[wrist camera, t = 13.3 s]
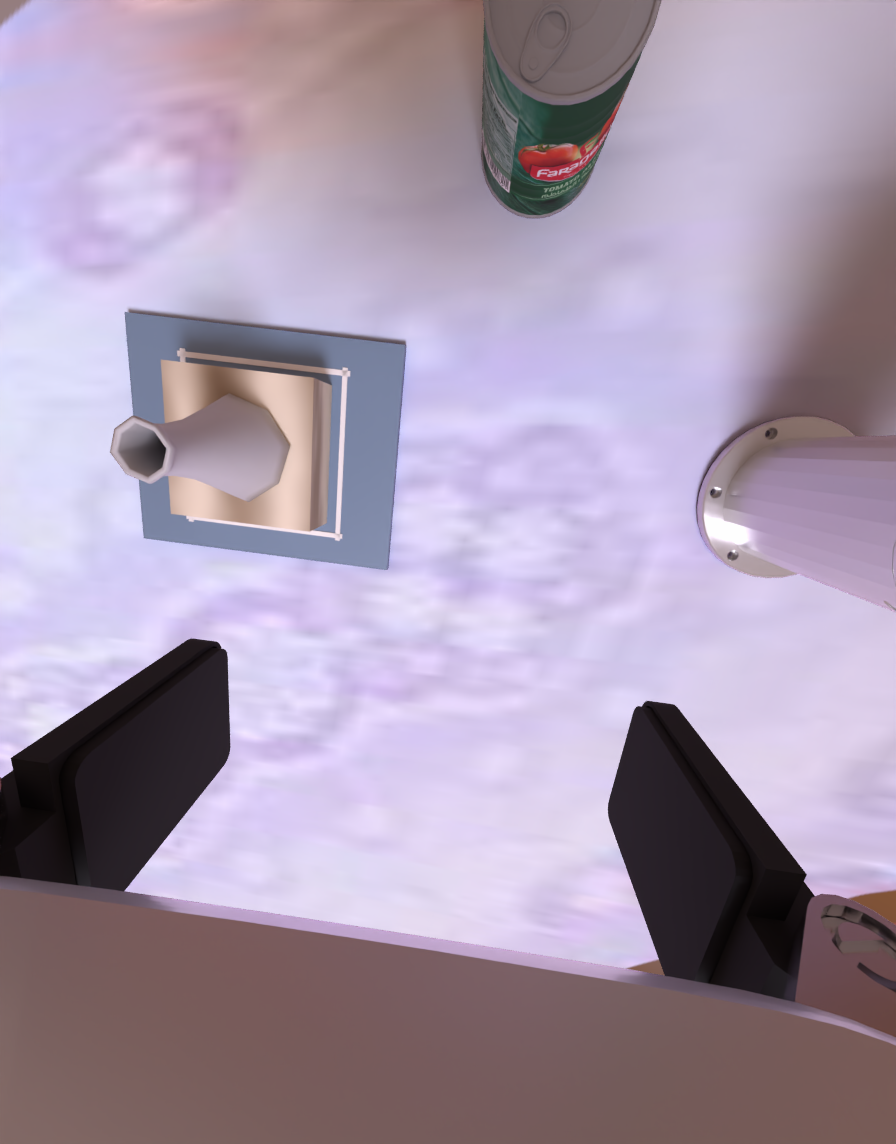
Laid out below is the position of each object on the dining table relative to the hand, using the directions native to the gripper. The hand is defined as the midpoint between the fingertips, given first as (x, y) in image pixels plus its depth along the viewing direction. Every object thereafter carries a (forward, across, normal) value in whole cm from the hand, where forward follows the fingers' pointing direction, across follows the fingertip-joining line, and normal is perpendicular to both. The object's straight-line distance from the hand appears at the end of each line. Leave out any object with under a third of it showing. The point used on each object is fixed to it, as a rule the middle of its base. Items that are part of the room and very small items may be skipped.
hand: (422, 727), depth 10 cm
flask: (+24, +17, -4) cm, 29 cm away
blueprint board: (+28, +17, -4) cm, 33 cm away
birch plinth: (+28, +17, -4) cm, 33 cm away
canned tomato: (+28, -2, -26) cm, 39 cm away
